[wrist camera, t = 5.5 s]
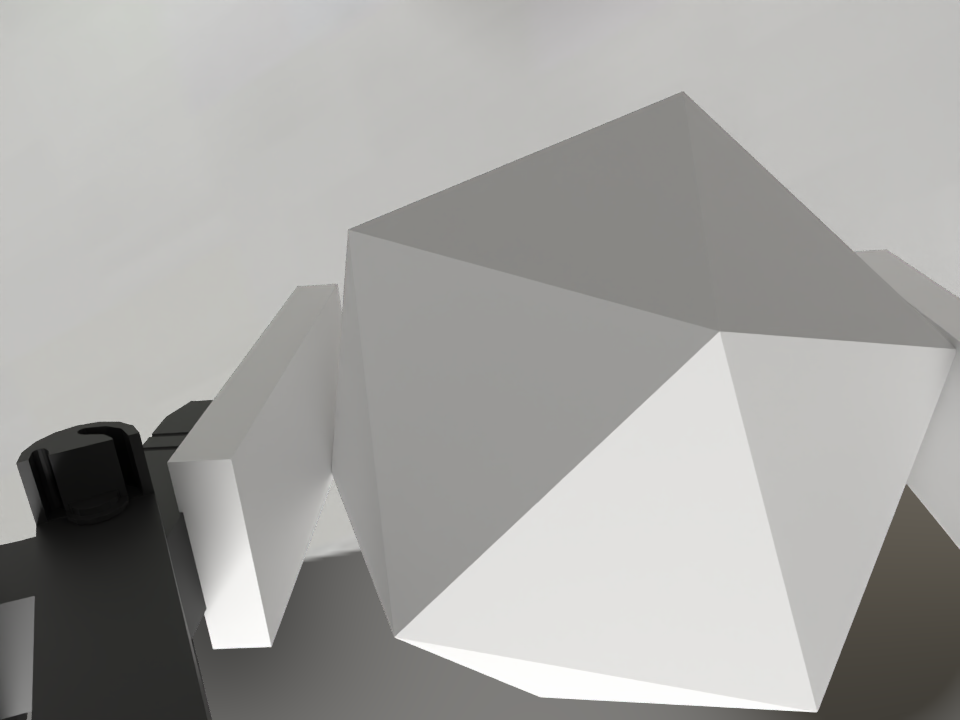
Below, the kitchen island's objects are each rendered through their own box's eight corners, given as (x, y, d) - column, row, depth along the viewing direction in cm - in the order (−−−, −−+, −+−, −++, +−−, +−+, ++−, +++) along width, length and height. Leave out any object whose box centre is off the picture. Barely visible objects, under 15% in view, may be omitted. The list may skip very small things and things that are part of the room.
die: (325, 447, 18) (535, 927, 13) (161, 113, 12) (451, 818, 6) (652, 296, 20) (971, 667, 14) (674, -77, 13) (1299, 345, 7)
